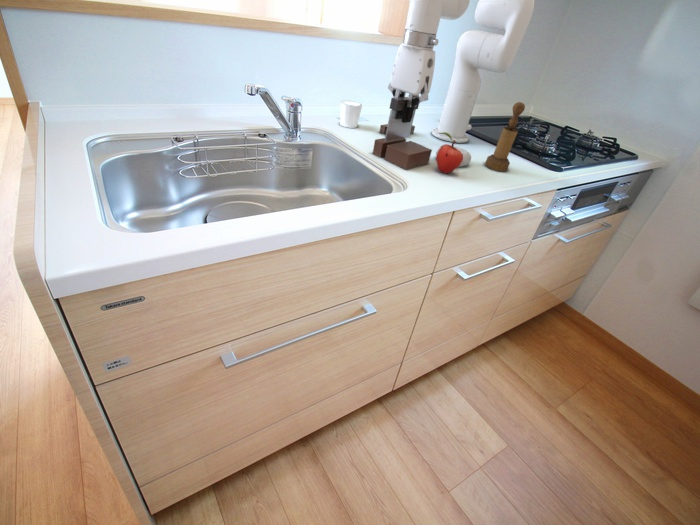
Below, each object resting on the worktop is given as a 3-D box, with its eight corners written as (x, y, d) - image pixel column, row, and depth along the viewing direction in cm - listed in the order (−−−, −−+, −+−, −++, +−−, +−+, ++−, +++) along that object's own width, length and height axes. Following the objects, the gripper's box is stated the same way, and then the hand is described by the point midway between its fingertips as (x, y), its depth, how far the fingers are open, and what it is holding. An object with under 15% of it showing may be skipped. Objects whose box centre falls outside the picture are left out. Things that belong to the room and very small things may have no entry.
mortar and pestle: (511, 172, 106) (538, 106, 96) (493, 171, 104) (518, 105, 94) (498, 163, 111) (522, 100, 101) (480, 162, 109) (503, 98, 99)
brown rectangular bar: (395, 149, 108) (398, 135, 106) (403, 152, 107) (406, 138, 105) (372, 153, 102) (375, 139, 100) (380, 157, 101) (383, 143, 98)
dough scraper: (405, 135, 104) (414, 96, 98) (411, 138, 103) (421, 98, 97) (381, 139, 98) (390, 97, 92) (388, 142, 97) (397, 100, 91)
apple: (454, 168, 102) (466, 132, 96) (460, 178, 96) (472, 140, 90) (427, 164, 101) (437, 128, 95) (431, 174, 96) (442, 136, 90)
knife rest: (402, 129, 127) (404, 121, 126) (413, 133, 125) (415, 126, 123) (379, 132, 120) (380, 124, 118) (390, 137, 117) (392, 129, 116)
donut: (434, 164, 103) (470, 170, 102) (437, 152, 101) (474, 158, 100) (435, 153, 111) (468, 159, 110) (437, 141, 109) (471, 147, 108)
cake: (407, 154, 106) (410, 140, 104) (428, 163, 102) (432, 149, 100) (384, 159, 100) (387, 145, 98) (405, 169, 96) (409, 154, 94)
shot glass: (340, 120, 125) (342, 99, 121) (359, 124, 125) (363, 102, 121) (336, 126, 119) (339, 103, 115) (357, 129, 119) (360, 107, 115)
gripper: (455, 48, 85) (433, 128, 96) (403, 36, 94) (388, 111, 104) (436, 46, 80) (416, 131, 91) (383, 34, 89) (370, 112, 100)
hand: (401, 119), depth 98 cm, fingers closed on dough scraper, 2 cm apart
